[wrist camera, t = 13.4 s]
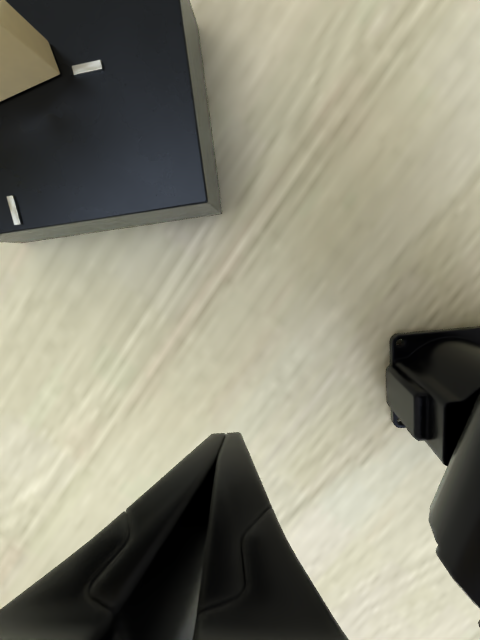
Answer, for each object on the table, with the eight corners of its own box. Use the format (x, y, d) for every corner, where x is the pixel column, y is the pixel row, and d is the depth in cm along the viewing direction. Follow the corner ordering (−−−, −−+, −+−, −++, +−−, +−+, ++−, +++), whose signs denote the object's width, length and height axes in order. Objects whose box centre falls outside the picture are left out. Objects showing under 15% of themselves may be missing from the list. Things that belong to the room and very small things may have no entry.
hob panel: (190, -29, 16) (159, -138, 12) (222, 213, 19) (207, 201, 14) (-67, 36, 18) (-179, -36, 14) (-5, 247, 21) (-82, 246, 16)
